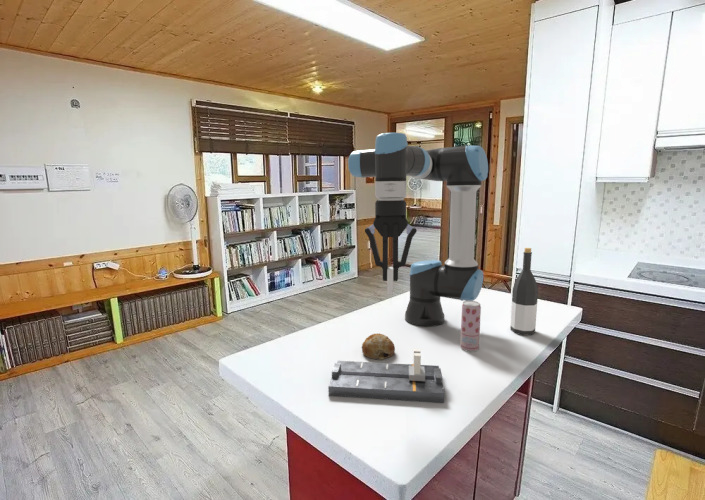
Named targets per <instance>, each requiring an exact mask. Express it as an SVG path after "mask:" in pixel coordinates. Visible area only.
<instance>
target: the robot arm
mask: <svg viewBox="0 0 705 500" xmlns="http://www.w3.org/2000/svg"><path fill="white" fill-rule="evenodd" d="M407 139H408V138H407V135H406V134H405V133H402V132H384V133H380V134H378V135H376V137H375V146H374V149H373V148H371V149H360V150H354V151H352V152H351V153H350V155H348V156H349V157H348V159H347V160H348V161H347V163H348V164H347V165H348V171H349V173H350V174H351V176H353V177H355V178H375V181H374V183H375V186H374V188H375V189H374V191H375V194H374V195H375V196H374V197H375V199H377V200H376V201H375V203H374V204H375V205H374V206H375V207H374V209H375V211H374V212H375V213H374V214H375V218H374V220H373V223H372V224H371V225H370V226H368V227H365V229H364V233H365V234H366V236H367V237H368V239H369V243H370V244H369V245H370V248H371V251H372V256H373V260H374V263H375V266H377V267H380V268H382V281H383V282H386V283H387V284H386V289H387V290H386V295H388V296H389V295H392V296H393V295H394V282H397V281H398V280H399V269H400V268H401V267H405V266H406V263H407V260H408V255H409V252H410V249H411V244H412V240H413V238H414V236H415V235H416V233H417V231H418V230H417V228H416V227H414V226H412V225H410V224H409V221H408V219H407V201H406V200H405V198H407V177H412V178H413V179H417V180H426V181H433V182H446V188H447V189H448V190H449V191H450V202H449V203H450V205H449V206H450V209H449V239H448V240H449V241H448V242H449V243H448V245H449V247H448V248H449V249H448V258H447V259H446V260H445V261H444V265H443V264H442V261H441V260H437V259H433V260H432V259H429V260H427V259H426V260H421V261H416V262H413V263H412V264H411V265H410V269H409V301H408V304H407V307H406V310H405V313H404V319H405V321H406V322H407V323H409V324H412V325H415V326H420V327H435V326H439V325H443V323H444V322H445V312H444V310H443V307H442V303H441V298H446V299H447V298H448V299H451V300H458V301H462V302H464V301H475V300H477V298H478V297H479V295H480V292H481V290H482V287H483V284H484V271H483V270H481V269H479V263H478V261H476V260H475V258H474V256H475V239H476V238H475V237H476V236H475V234H476V212H477V211H476V210H477V209H476V208H477V192H478V190H479V189H480V188H481V187H482V182H483V181H485V180H486V179H487V178H488V174H489V163H488V157H487V154H486V151H485V149H484V148H483V146H480V145H469V144H468V145H462V146H461V145H460V146H450V147H437V148H431V149H428V150H426V149H424V148H422V147H420V146H418V145H415V146H414V145H408V144H409V143H408V140H407ZM375 230H376V231H377V233H378V234H379V235H380V236H381V237H382V260H381V257H380V253H379V249H378V245H377V241H376V237H375V234H376V233H375V232H376V231H375ZM404 231H405V232H406V234H407V236H406V239H405V242H404V247H403V251H402V255H401V258H400V261H399V237H400V236H401V235H402V234H403V233H404ZM389 238H392V251H393V252H392V266H388V265H389Z"/></svg>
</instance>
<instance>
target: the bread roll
mask: <svg viewBox="0 0 705 500" xmlns="http://www.w3.org/2000/svg"><path fill="white" fill-rule="evenodd" d="M361 350H362V352H361V353H362V354H363V355H364V356H365V357H367V358H369V359H372V360H379V361H383V360H386V359H389V358H391V357H393V356H394V354H395V350H396V349H395V344H394V342H393V340H391V338H389V337H388V336H387V335H385V334H383V333H372V334H370V335H368V336H367V337H366V338H365V339H364V341H363V342H362V344H361Z"/></svg>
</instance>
